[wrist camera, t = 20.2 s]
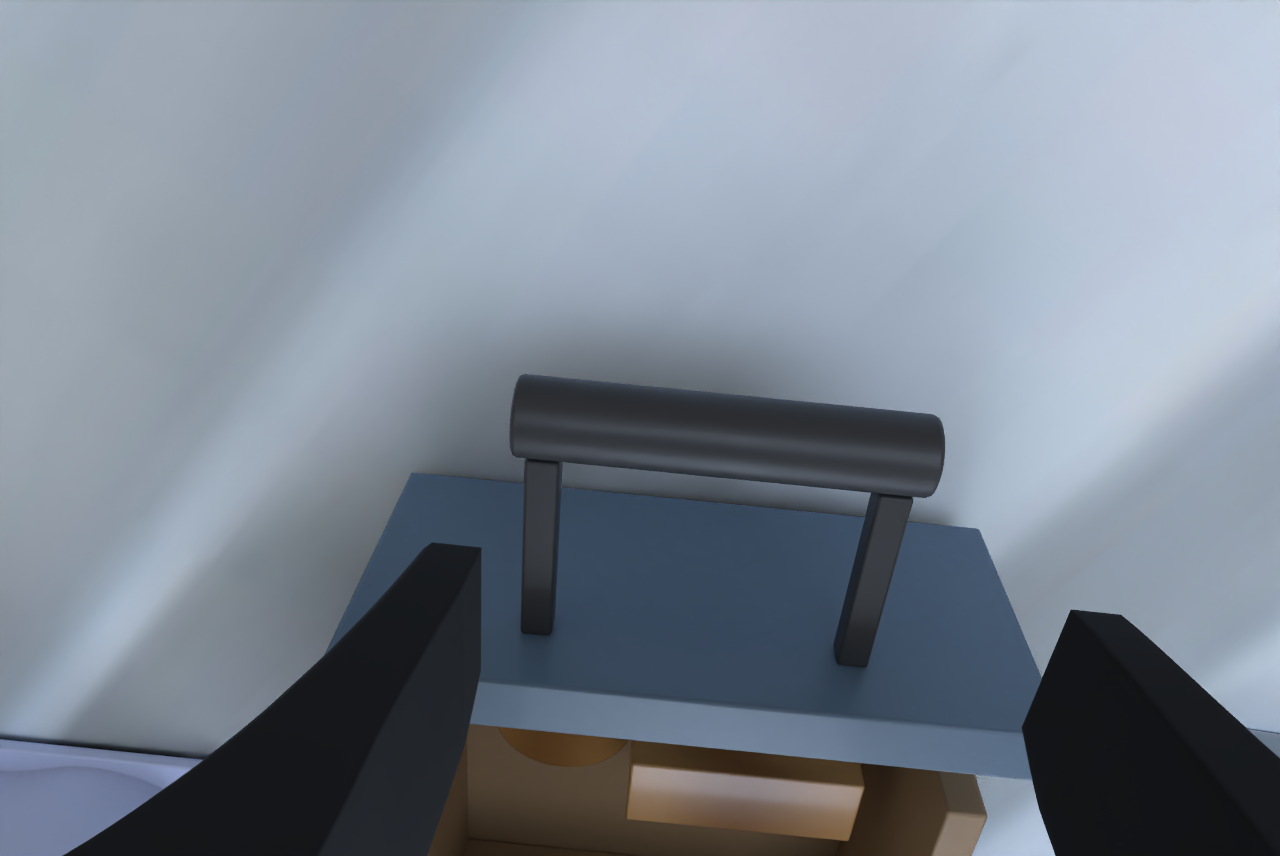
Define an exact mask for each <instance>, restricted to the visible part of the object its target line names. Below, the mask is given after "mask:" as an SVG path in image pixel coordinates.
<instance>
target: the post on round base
mask: <svg viewBox="0 0 1280 856" xmlns="http://www.w3.org/2000/svg"><path fill="white" fill-rule="evenodd" d="M498 728H499V731H500V733H501V734H502V736H503V737H504V739H505V740H506V741H507V742H508V743H509V744H510V745H511V746H512V747H513V748H514V749H516V750H517V751H518V752H520V753H521V754H523V755H525V756H527V757H528V758H531V759H533V760H535V761H538V762H541V763H544V764H548V765H552V766H559V767H582V766H588V765H593V764H596V763H599V762H602V761H604V760H606V759H608V758H610V757H612V756H613V755H615V754H616V753H617V752H618V751H620V750H621V749H622V748H623V746H624V745H625V744H626V743H627V741H628V740H626V739H616V738H606V737H596V736H586V735H576V734H566V733H556V732H546V731H536V730H526V729H516V728H507V727H498ZM864 789H865V785H864V779H863V774H862V768H861V763H855V762H845V761H835V760H825V759H815V758H805V757H795V756H785V755H775V754H765V753H755V752H745V751H735V750H725V749H715V748H705V747H695V746H685V745H676V744H666V743H656V742H646V741H636V740H631V751H630V764H629V777H628V789H627V802H626V815H625V816H626V819H631V820H641V821H651V822H661V823H671V824H680V825H690V826H700V827H710V828H720V829H730V830H740V831H750V832H760V833H770V834H780V835H790V836H800V837H810V838H820V839H830V840H840V841H849V838H850V835H851V832H852V829H853V825H854V822H855V819H856V815H857V812H858V809H859V805H860V802H861V799H862V795H863V792H864Z"/></svg>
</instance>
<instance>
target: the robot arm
mask: <svg viewBox="0 0 1280 856" xmlns="http://www.w3.org/2000/svg"><path fill="white" fill-rule="evenodd" d="M481 551H482V547H472V546H463V545H453V544H444V543H434V542H432V543H430V544H429V545H428V546H426V547H425V548H423V549H422V551H421V552H420V553H419V554H418V555H417V557H416V558H415V559H414V560H413V561H412V562H411V564H410V565H409V566H408V567H407V568H406V569H405V571H404V572H403V573H402V574H401V575H400V576H399V578H398V579H397V580H396V581H395V582H394V583H393V584H392V585H391V587H390V588H389V589H388V590H387V591H386V592H385V593H384V594H383V595H382V596H381V598H380V599H379V600H378V601H377V602H376V603H375V604H374V605H373V606H372V607H371V608H370V609H369V611H368V612H367V613H366V614H365V615H364V616H363V617H362V618H361V619H360V620H359V621H358V622H357V623H356V624H355V625H354V626H353V627H352V628H351V629H350V630H349V631H348V632H347V633H346V634H345V635H344V636H343V637H342V638H341V639H340V640H339V641H338V642H337V643H336V644H335V645H334V646H333V647H332V648H331V649H330V650H329V651H328V652H327V653H326V654H325V655H324V656H323V657H322V658H321V659H320V660H319V661H318V662H317V663H316V664H315V665H314V666H313V667H312V668H311V669H310V670H308V671H307V672H306V673H305V674H304V675H303V676H302V677H301V678H300V679H299V680H298V681H296V682H295V683H294V684H293V685H292V686H291V687H290V688H289V689H288V690H287V691H285V692H284V693H283V694H282V695H281V696H280V697H279V698H278V699H277V700H276V701H274V702H273V703H272V704H271V705H270V706H269V707H268V708H267V709H266V710H264V711H263V712H262V713H261V714H260V715H258V716H257V717H256V718H255V719H254V720H253V721H251V722H250V723H249V724H248V725H247V726H245V727H244V728H243V729H242V730H241V731H239V732H238V733H237V734H236V735H234V736H233V737H232V738H231V739H229V740H228V741H227V742H226V743H224V744H223V745H222V746H221V747H219V748H218V749H217V750H215V751H214V752H213V753H212V754H210V755H209V756H208V757H206V758H205V759H204V760H201V759H191V758H181V757H171V756H161V755H151V754H141V753H131V752H121V751H111V750H102V749H92V748H82V747H72V746H62V745H52V744H42V743H32V742H22V741H12V740H2V739H0V856H428V853H429V850H430V847H431V844H432V841H433V838H434V835H435V832H436V829H437V826H438V824H439V821H440V818H441V815H442V812H443V809H444V806H445V803H446V800H447V797H448V794H449V791H450V788H451V785H452V782H453V779H454V776H455V773H456V770H457V767H458V764H459V761H460V758H461V755H462V752H463V749H464V746H465V742H466V737H467V733H468V728H469V724H470V719H471V715H472V710H473V706H474V701H475V696H476V692H477V687H478V682H479V677H480V673H481ZM1022 732H1023V737H1024V742H1025V747H1026V752H1027V757H1028V762H1029V767H1030V772H1031V776H1032V781H1033V785H1034V789H1035V793H1036V798H1037V802H1038V806H1039V810H1040V812H1041V815H1042V818H1043V821H1044V824H1045V827H1046V830H1047V833H1048V836H1049V838H1050V841H1051V844H1052V847H1053V850H1054V853H1055V855H1056V856H1280V758H1279V757H1278V756H1277V755H1276V754H1275V753H1274V752H1273V751H1271V750H1270V749H1269V748H1268V747H1267V746H1266V745H1265V744H1263V743H1262V742H1261V741H1260V740H1259V739H1258V738H1257V737H1256V736H1255V735H1254V734H1252V733H1251V732H1250V731H1249V730H1248V729H1247V728H1246V727H1245V726H1244V725H1242V724H1241V723H1240V722H1239V721H1238V720H1237V719H1236V718H1235V717H1234V716H1233V715H1231V714H1230V713H1229V712H1228V711H1227V710H1226V709H1225V708H1224V707H1223V706H1222V705H1221V704H1219V703H1218V702H1217V701H1216V700H1215V699H1214V698H1213V697H1212V696H1211V695H1210V694H1209V693H1208V692H1207V691H1205V690H1204V689H1203V688H1202V687H1201V686H1200V685H1199V684H1198V683H1197V682H1196V681H1195V680H1194V679H1192V678H1191V677H1190V676H1189V675H1188V674H1187V673H1186V672H1185V671H1184V670H1183V669H1182V668H1181V667H1180V666H1178V665H1177V664H1176V663H1175V662H1174V661H1173V660H1172V659H1171V658H1170V657H1169V656H1168V655H1166V654H1165V653H1164V652H1163V651H1162V650H1161V649H1160V648H1159V647H1158V646H1157V645H1155V644H1154V643H1153V642H1152V641H1151V640H1150V639H1149V638H1148V637H1147V636H1145V635H1144V634H1143V633H1142V632H1141V631H1140V630H1139V629H1137V628H1136V627H1135V626H1134V625H1133V624H1131V623H1130V622H1129V621H1128V620H1127V619H1125V618H1124V617H1123V616H1122V615H1117V614H1108V613H1098V612H1089V611H1079V610H1071V611H1070V613H1069V615H1068V618H1067V620H1066V623H1065V625H1064V627H1063V630H1062V632H1061V634H1060V637H1059V639H1058V642H1057V644H1056V646H1055V649H1054V651H1053V654H1052V656H1051V658H1050V661H1049V663H1048V666H1047V668H1046V670H1045V673H1044V675H1043V677H1042V680H1041V682H1040V685H1039V687H1038V689H1037V692H1036V694H1035V697H1034V699H1033V701H1032V704H1031V706H1030V709H1029V711H1028V713H1027V716H1026V718H1025V721H1024V723H1023V725H1022Z"/></svg>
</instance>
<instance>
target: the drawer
mask: <svg viewBox="0 0 1280 856" xmlns="http://www.w3.org/2000/svg"><path fill="white" fill-rule="evenodd" d="M510 449H511V452H512V455H513V456H515V457H518V458H526V459H525V466H524V484H522V483H512V482H502V481H492V480H482V479H472V478H462V477H452V476H442V475H432V474H422V473H411V475H410V477H409V479H408V481H407V483H406V485H405V487H404V489H403V491H402V493H401V496H400V498H399V500H398V502H397V504H396V506H395V508H394V510H393V512H392V514H391V517H390V519H389V521H388V523H387V525H386V527H385V529H384V531H383V533H382V535H381V537H380V540H379V542H378V544H377V546H376V548H375V550H374V552H373V554H372V556H371V558H370V561H369V563H368V565H367V567H366V569H365V571H364V573H363V575H362V577H361V579H360V581H359V584H358V586H357V588H356V590H355V592H354V594H353V596H352V598H351V600H350V602H349V605H348V607H347V609H346V611H345V613H344V615H343V617H342V619H341V621H340V623H339V625H338V628H337V630H336V632H335V634H334V636H333V638H332V640H331V642H330V644H329V646H328V649H327V651H326V653H327V652H328V651H329V650H330V649H331V648H332V647H333V646H334V645H335V644H336V643H337V642H338V641H339V640H340V639H341V638H342V637H343V636H344V635H345V634H346V633H347V632H348V631H349V630H350V629H351V628H352V627H353V626H354V625H355V624H356V623H357V622H358V621H359V620H360V619H361V618H362V617H363V616H364V615H365V614H366V613H367V612H368V611H369V609H370V608H371V607H372V606H373V605H374V604H375V603H376V602H377V601H378V600H379V599H380V598H381V596H382V595H383V594H384V593H385V592H386V591H387V590H388V589H389V588H390V587H391V585H392V584H393V583H394V582H395V581H396V580H397V579H398V578H399V576H400V575H401V574H402V573H403V572H404V571H405V569H406V568H407V567H408V566H409V565H410V564H411V562H412V561H413V560H414V559H415V558H416V557H417V555H418V554H419V553H420V552H421V551H422V549H423V548H425V547H426V546H428V545H429V544H430V543H432V542H434V543H444V544H453V545H463V546H472V547H482V551H481V673H480V677H479V682H478V687H477V692H476V696H475V701H474V706H473V710H472V715H471V719H470V724H469V728H468V733H467V737H466V742H465V746H464V749H463V752H462V755H461V758H460V761H459V764H458V767H457V770H456V773H455V776H454V779H453V782H452V785H451V788H450V791H449V794H448V797H447V800H446V803H445V806H444V809H443V812H442V815H441V818H440V821H439V824H438V826H437V829H436V832H435V835H434V838H433V841H432V844H431V847H430V850H429V853H428V856H972V853H973V851H974V848H975V846H976V844H977V841H978V839H979V836H980V834H981V831H982V829H983V827H984V824H985V822H986V819H987V813H986V810H985V806H984V803H983V800H982V797H981V793H980V790H979V787H978V783H977V780H976V777H975V775H984V776H994V777H1004V778H1014V779H1024V780H1032V776H1031V772H1030V767H1029V762H1028V757H1027V752H1026V747H1025V742H1024V737H1023V732H1022V725H1023V723H1024V721H1025V718H1026V716H1027V713H1028V711H1029V709H1030V706H1031V704H1032V701H1033V699H1034V697H1035V694H1036V692H1037V689H1038V687H1039V685H1040V682H1041V680H1042V678H1041V675H1040V673H1039V670H1038V668H1037V666H1036V663H1035V661H1034V659H1033V656H1032V654H1031V651H1030V649H1029V647H1028V644H1027V642H1026V640H1025V637H1024V635H1023V633H1022V630H1021V628H1020V625H1019V623H1018V621H1017V618H1016V616H1015V614H1014V611H1013V609H1012V606H1011V604H1010V602H1009V599H1008V597H1007V595H1006V592H1005V590H1004V587H1003V585H1002V583H1001V580H1000V578H999V576H998V573H997V571H996V568H995V566H994V564H993V561H992V559H991V557H990V554H989V552H988V549H987V547H986V545H985V542H984V540H983V538H982V535H981V533H980V531H979V530H978V529H976V528H965V527H955V526H945V525H935V524H925V523H915V522H908V518H909V514H910V511H911V507H912V504H913V498H912V497H921V498H926V497H929V496H931V495H933V493H934V492H935V490H936V488H937V486H938V484H939V481H940V478H941V475H942V471H943V465H944V458H945V436H944V429H943V425H942V422H941V420H940V419H939V417H937V416H935V415H933V414H924V413H914V412H904V411H894V410H884V409H874V408H864V407H853V406H843V405H833V404H823V403H813V402H803V401H793V400H783V399H772V398H762V397H752V396H742V395H732V394H722V393H712V392H702V391H691V390H681V389H671V388H661V387H651V386H641V385H631V384H621V383H610V382H600V381H590V380H580V379H570V378H560V377H550V376H540V375H529V374H524V375H521V376H520V377H519V379H518V381H517V383H516V386H515V390H514V395H513V401H512V408H511V417H510ZM563 462H568V463H578V464H588V465H598V466H608V467H619V468H629V469H639V470H649V471H659V472H669V473H679V474H689V475H699V476H709V477H719V478H729V479H739V480H750V481H760V482H770V483H780V484H790V485H800V486H810V487H820V488H830V489H840V490H850V491H860V492H871V495H870V500H869V504H868V508H867V512H866V516H865V517H855V516H845V515H835V514H825V513H814V512H804V511H794V510H784V509H774V508H764V507H754V506H744V505H734V504H724V503H714V502H704V501H694V500H684V499H674V498H663V497H653V496H643V495H633V494H623V493H613V492H603V491H593V490H583V489H573V488H563V487H561V485H562V465H563ZM326 653H325V654H326ZM498 727H507V728H516V729H526V730H536V731H546V732H556V733H566V734H576V735H586V736H596V737H606V738H616V739H626V740H628V741H627V743H626V744H625V745H624V746H623V748H622V749H621V750H620V751H618V752H617V753H616V754H615V755H613V756H612V757H610V758H608V759H606V760H604V761H602V762H599V763H596V764H593V765H588V766H582V767H559V766H552V765H548V764H544V763H541V762H538V761H535V760H533V759H531V758H528V757H527V756H525V755H523V754H521V753H520V752H518V751H517V750H516V749H514V748H513V747H512V746H511V745H510V744H509V743H508V742H507V741H506V740H505V739H504V737H503V736H502V734H501V733H500V731H499V728H498ZM631 740H636V741H646V742H656V743H666V744H676V745H685V746H695V747H705V748H715V749H725V750H735V751H745V752H755V753H765V754H775V755H785V756H795V757H805V758H815V759H825V760H835V761H845V762H855V763H861V768H862V774H863V779H864V785H865V789H864V792H863V795H862V799H861V802H860V805H859V809H858V812H857V815H856V819H855V822H854V825H853V829H852V832H851V835H850V838H849V841H840V840H830V839H820V838H810V837H800V836H790V835H780V834H770V833H760V832H750V831H740V830H730V829H720V828H710V827H700V826H690V825H680V824H671V823H661V822H651V821H641V820H631V819H626V816H625V815H626V802H627V789H628V777H629V764H630V751H631Z"/></svg>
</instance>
